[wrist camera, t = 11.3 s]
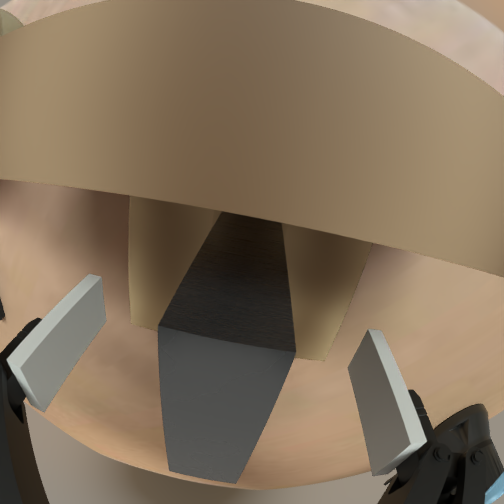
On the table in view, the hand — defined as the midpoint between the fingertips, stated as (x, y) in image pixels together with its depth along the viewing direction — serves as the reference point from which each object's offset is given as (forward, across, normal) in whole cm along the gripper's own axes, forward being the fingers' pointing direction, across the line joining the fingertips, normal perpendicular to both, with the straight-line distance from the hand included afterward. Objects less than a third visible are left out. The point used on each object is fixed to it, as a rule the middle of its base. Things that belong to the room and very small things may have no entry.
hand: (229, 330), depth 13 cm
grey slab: (+10, 0, 0) cm, 10 cm away
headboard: (+13, 0, -3) cm, 13 cm away
